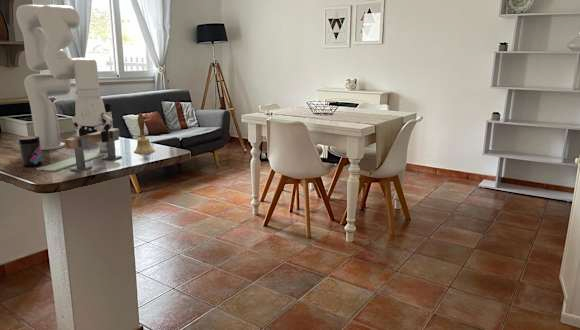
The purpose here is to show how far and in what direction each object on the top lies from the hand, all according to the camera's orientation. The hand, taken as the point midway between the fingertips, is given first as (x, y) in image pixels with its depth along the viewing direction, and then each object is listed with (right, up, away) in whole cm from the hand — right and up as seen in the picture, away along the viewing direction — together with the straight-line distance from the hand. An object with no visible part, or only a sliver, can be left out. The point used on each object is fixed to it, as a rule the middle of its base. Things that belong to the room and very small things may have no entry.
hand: (94, 141), depth 161 cm
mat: (-10, -8, +5) cm, 14 cm away
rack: (0, -8, +2) cm, 9 cm away
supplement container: (-23, -9, +1) cm, 25 cm away
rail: (0, 0, 0) cm, 0 cm away
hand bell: (+11, -3, +22) cm, 25 cm away
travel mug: (-5, -3, +23) cm, 24 cm away
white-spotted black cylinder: (-21, +3, +49) cm, 54 cm away
